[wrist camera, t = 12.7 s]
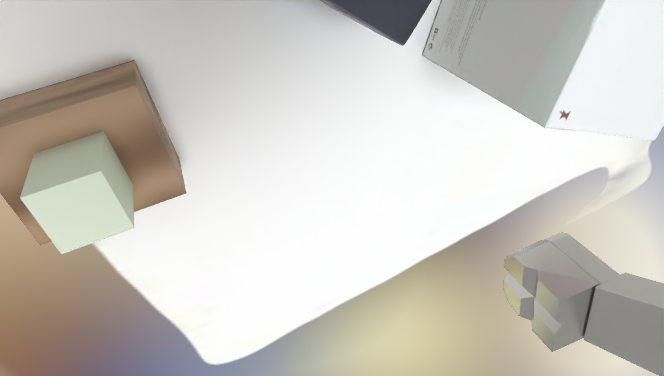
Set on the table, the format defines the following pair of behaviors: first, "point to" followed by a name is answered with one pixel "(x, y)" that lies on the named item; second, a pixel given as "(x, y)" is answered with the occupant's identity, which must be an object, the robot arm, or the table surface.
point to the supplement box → (560, 60)
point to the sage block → (79, 192)
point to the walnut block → (85, 120)
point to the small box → (384, 15)
